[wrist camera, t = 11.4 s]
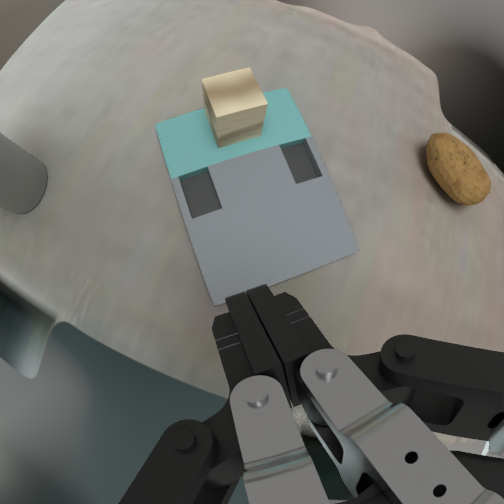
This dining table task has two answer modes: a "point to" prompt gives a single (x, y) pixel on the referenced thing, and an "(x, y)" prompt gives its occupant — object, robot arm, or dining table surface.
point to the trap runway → (255, 200)
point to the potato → (457, 169)
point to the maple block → (234, 106)
